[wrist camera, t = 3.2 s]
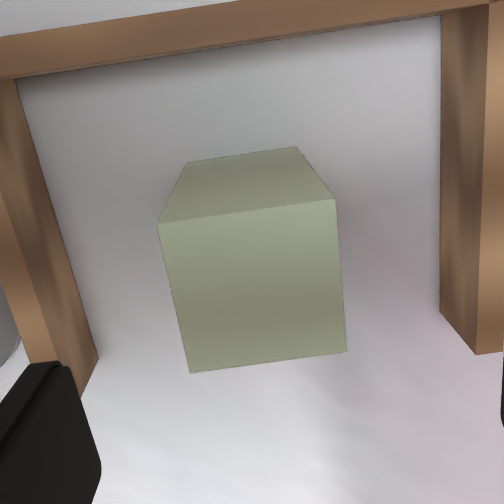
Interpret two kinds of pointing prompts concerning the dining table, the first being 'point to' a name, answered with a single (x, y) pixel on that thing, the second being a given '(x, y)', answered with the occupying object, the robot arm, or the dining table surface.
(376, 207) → the dining table surface
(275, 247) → the sage block
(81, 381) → the wooden u-shaped frame
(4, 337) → the slate coaster
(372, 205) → the dining table surface
